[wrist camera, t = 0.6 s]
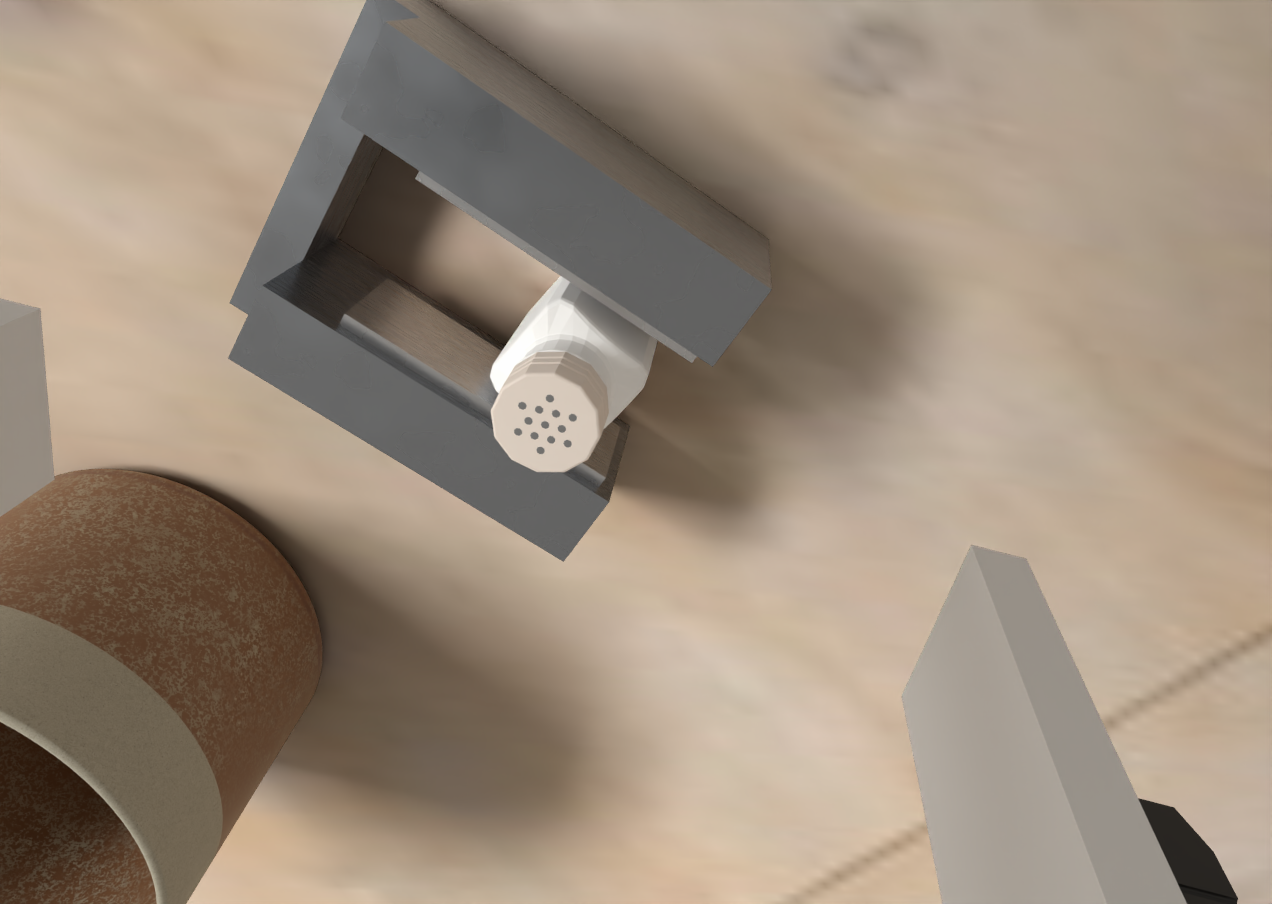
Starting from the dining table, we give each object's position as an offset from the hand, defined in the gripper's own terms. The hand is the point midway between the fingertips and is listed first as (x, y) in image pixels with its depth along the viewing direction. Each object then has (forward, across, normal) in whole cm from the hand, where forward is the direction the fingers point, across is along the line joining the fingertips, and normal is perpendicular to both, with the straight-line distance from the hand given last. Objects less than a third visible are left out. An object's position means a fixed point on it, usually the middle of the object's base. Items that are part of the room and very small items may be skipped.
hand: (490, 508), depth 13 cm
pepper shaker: (+22, -1, -5) cm, 23 cm away
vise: (+22, -5, -3) cm, 23 cm away
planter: (+22, -18, -24) cm, 37 cm away
